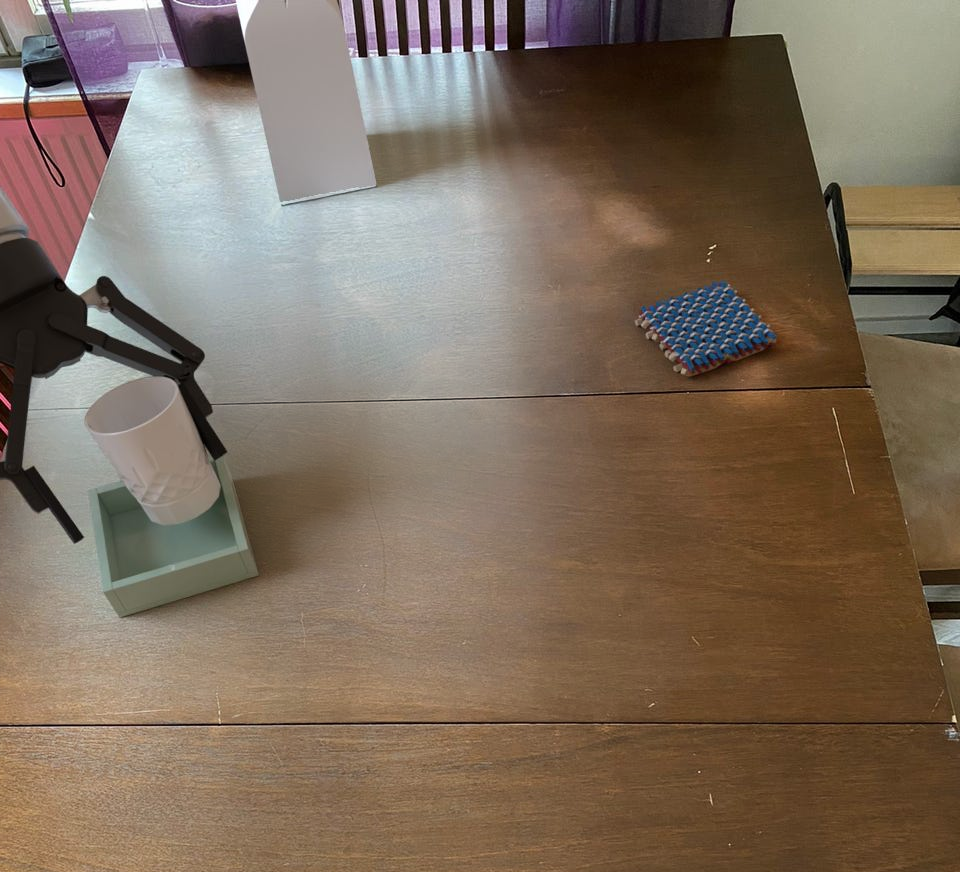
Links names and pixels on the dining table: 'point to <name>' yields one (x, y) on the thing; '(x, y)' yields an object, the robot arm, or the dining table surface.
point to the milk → (306, 96)
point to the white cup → (155, 448)
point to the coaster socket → (168, 547)
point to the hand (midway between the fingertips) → (152, 498)
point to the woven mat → (706, 329)
